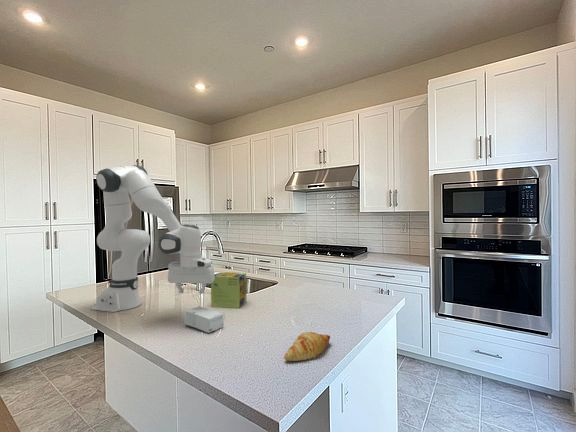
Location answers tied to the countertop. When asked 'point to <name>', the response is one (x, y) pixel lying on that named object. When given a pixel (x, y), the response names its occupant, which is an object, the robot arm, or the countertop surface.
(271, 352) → the countertop surface
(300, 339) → the croissant
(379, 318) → the countertop surface
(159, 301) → the countertop surface
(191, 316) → the skincare box
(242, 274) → the protein box
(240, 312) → the countertop surface
